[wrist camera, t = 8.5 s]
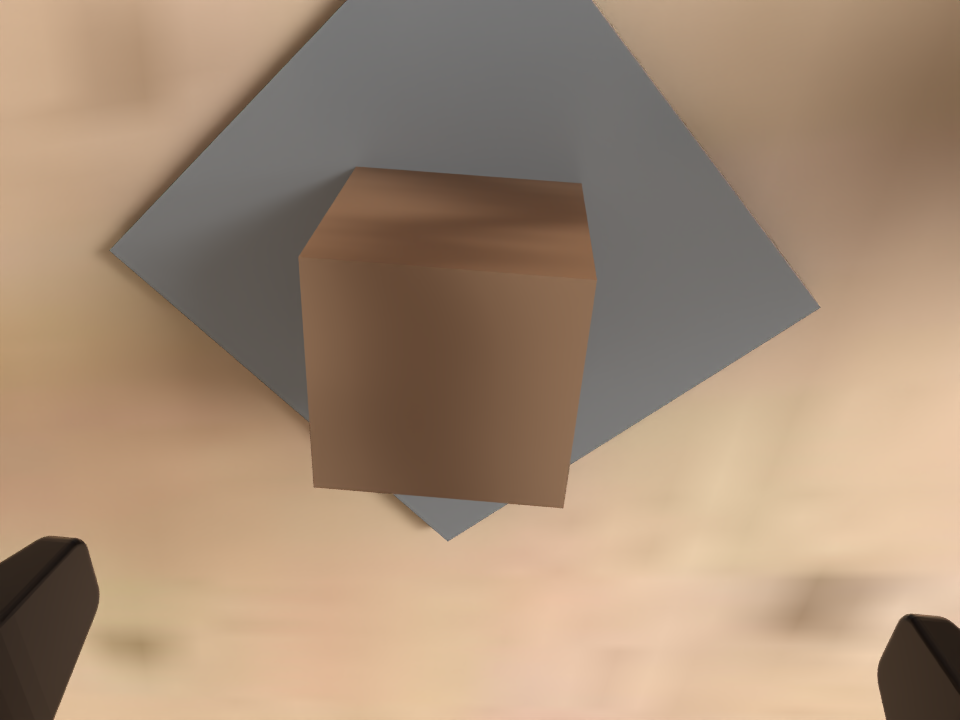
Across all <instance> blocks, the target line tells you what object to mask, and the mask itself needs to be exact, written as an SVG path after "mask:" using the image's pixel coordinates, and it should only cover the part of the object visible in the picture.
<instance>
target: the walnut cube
mask: <svg viewBox="0 0 960 720" xmlns="http://www.w3.org/2000/svg"><path fill="white" fill-rule="evenodd" d="M298 259H299V274H300V289H301V304H302V319H303V334H304V349H305V364H306V379H307V394H308V409H309V424H310V439H311V453H312V468H313V483H314V487H316V488H328V489H340V490H352V491H364V492H376V493H388V494H400V495H412V496H424V497H436V498H448V499H460V500H472V501H484V502H496V503H507V504H519V505H531V506H543V507H555V508H563V507H564V500H565V493H566V486H567V480H568V473H569V466H570V459H571V453H572V446H573V439H574V432H575V426H576V419H577V412H578V405H579V398H580V392H581V385H582V378H583V371H584V365H585V358H586V351H587V344H588V337H589V331H590V324H591V317H592V310H593V304H594V297H595V290H596V283H597V277H596V271H595V264H594V258H593V252H592V246H591V239H590V233H589V227H588V220H587V214H586V208H585V202H584V195H583V189H582V183H570V182H557V181H544V180H530V179H517V178H504V177H490V176H477V175H464V174H450V173H437V172H423V171H410V170H397V169H383V168H370V167H357V166H356V168H355V169H354V171H353V172H352V174H351V175H350V177H349V179H348V180H347V182H346V183H345V185H344V186H343V188H342V189H341V191H340V193H339V194H338V196H337V197H336V199H335V200H334V202H333V204H332V205H331V207H330V208H329V210H328V211H327V213H326V214H325V216H324V218H323V219H322V221H321V222H320V224H319V225H318V227H317V229H316V230H315V232H314V233H313V235H312V236H311V238H310V239H309V241H308V243H307V244H306V246H305V247H304V249H303V250H302V252H301V254H300V255H299V257H298Z"/></svg>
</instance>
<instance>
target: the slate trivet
mask: <svg viewBox="0 0 960 720" xmlns="http://www.w3.org/2000/svg"><path fill="white" fill-rule="evenodd" d="M356 166H357V167H370V168H383V169H397V170H410V171H423V172H437V173H450V174H464V175H477V176H490V177H504V178H517V179H530V180H544V181H557V182H570V183H582V189H583V195H584V202H585V208H586V214H587V220H588V227H589V233H590V239H591V246H592V252H593V258H594V264H595V271H596V277H597V283H596V290H595V297H594V304H593V310H592V317H591V324H590V331H589V337H588V344H587V351H586V358H585V365H584V371H583V378H582V385H581V392H580V398H579V405H578V412H577V419H576V426H575V432H574V439H573V446H572V453H571V459H570V464H572V463H574V462H575V461H577V460H578V459H580V458H582V457H583V456H585V455H586V454H588V453H589V452H591V451H593V450H594V449H596V448H597V447H599V446H601V445H602V444H604V443H605V442H607V441H609V440H610V439H612V438H613V437H615V436H617V435H618V434H620V433H621V432H623V431H625V430H626V429H628V428H629V427H631V426H633V425H634V424H636V423H637V422H639V421H640V420H642V419H644V418H645V417H647V416H648V415H650V414H652V413H653V412H655V411H656V410H658V409H660V408H661V407H663V406H664V405H666V404H668V403H669V402H671V401H672V400H674V399H676V398H677V397H679V396H680V395H682V394H684V393H685V392H687V391H688V390H690V389H691V388H693V387H695V386H696V385H698V384H699V383H701V382H703V381H704V380H706V379H707V378H709V377H711V376H712V375H714V374H715V373H717V372H719V371H720V370H722V369H723V368H725V367H727V366H728V365H730V364H731V363H733V362H735V361H736V360H738V359H739V358H741V357H743V356H744V355H746V354H747V353H749V352H750V351H752V350H754V349H755V348H757V347H758V346H760V345H762V344H763V343H765V342H766V341H768V340H770V339H771V338H773V337H774V336H776V335H778V334H779V333H781V332H782V331H784V330H786V329H787V328H789V327H790V326H792V325H794V324H795V323H797V322H798V321H800V320H801V319H803V318H805V317H806V316H808V315H809V314H811V313H813V312H814V311H816V310H817V309H819V308H821V307H820V306H819V305H818V303H817V302H816V300H815V299H814V297H813V296H812V294H811V293H810V291H809V290H808V289H807V287H806V286H805V285H804V283H803V282H802V281H801V279H800V278H799V277H798V275H797V274H796V273H795V271H794V270H793V269H792V267H791V266H790V265H789V263H788V262H787V261H786V259H785V258H784V256H783V255H782V254H781V252H780V251H779V250H778V248H777V247H776V246H775V244H774V243H773V242H772V240H771V239H770V238H769V236H768V235H767V234H766V232H765V231H764V230H763V228H762V227H761V226H760V224H759V223H758V222H757V220H756V219H755V218H754V216H753V215H752V213H751V212H750V211H749V209H748V208H747V207H746V205H745V204H744V203H743V201H742V200H741V199H740V197H739V196H738V195H737V193H736V192H735V191H734V189H733V188H732V187H731V185H730V184H729V183H728V181H727V180H726V179H725V177H724V176H723V175H722V173H721V172H720V170H719V169H718V168H717V166H716V165H715V164H714V162H713V161H712V160H711V158H710V157H709V156H708V154H707V153H706V152H705V150H704V149H703V148H702V146H701V145H700V144H699V142H698V141H697V140H696V138H695V137H694V136H693V134H692V133H691V132H690V130H689V129H688V127H687V126H686V125H685V123H684V122H683V121H682V119H681V118H680V117H679V115H678V114H677V113H676V111H675V110H674V109H673V107H672V106H671V105H670V103H669V102H668V101H667V99H666V98H665V97H664V95H663V94H662V93H661V91H660V90H659V89H658V87H657V86H656V84H655V83H654V82H653V80H652V79H651V78H650V76H649V75H648V74H647V72H646V71H645V70H644V68H643V67H642V66H641V64H640V63H639V62H638V60H637V59H636V58H635V56H634V55H633V54H632V52H631V51H630V50H629V48H628V47H627V46H626V44H625V43H624V41H623V40H622V39H621V37H620V36H619V35H618V33H617V32H616V31H615V29H614V28H613V27H612V25H611V24H610V23H609V21H608V20H607V19H606V17H605V16H604V15H603V13H602V12H601V11H600V9H599V8H598V7H597V5H596V4H595V3H594V1H593V0H347V1H346V2H345V3H344V4H343V5H342V6H341V7H340V8H339V9H338V10H337V11H336V12H335V13H334V14H333V15H332V16H331V17H330V19H329V20H328V21H327V22H326V23H325V24H324V25H323V26H322V27H321V28H320V29H319V30H318V31H317V32H316V33H315V34H314V35H313V36H312V37H311V39H310V40H309V41H308V42H307V43H306V44H305V45H304V46H303V47H302V48H301V49H300V50H299V51H298V52H297V53H296V54H295V55H294V56H293V58H292V59H291V60H290V61H289V62H288V63H287V64H286V65H285V66H284V67H283V68H282V69H281V70H280V71H279V72H278V73H277V74H276V75H275V76H274V78H273V79H272V80H271V81H270V82H269V83H268V84H267V85H266V86H265V87H264V88H263V89H262V90H261V91H260V92H259V93H258V94H257V95H256V96H255V98H254V99H253V100H252V101H251V102H250V103H249V104H248V105H247V106H246V107H245V108H244V109H243V110H242V111H241V112H240V113H239V114H238V115H237V116H236V118H235V119H234V120H233V121H232V122H231V123H230V124H229V125H228V126H227V127H226V128H225V129H224V130H223V131H222V132H221V133H220V134H219V135H218V137H217V138H216V139H215V140H214V141H213V142H212V143H211V144H210V145H209V146H208V147H207V148H206V149H205V150H204V151H203V152H202V153H201V154H200V155H199V157H198V158H197V159H196V160H195V161H194V162H193V163H192V164H191V165H190V166H189V167H188V168H187V169H186V170H185V171H184V172H183V173H182V174H181V175H180V177H179V178H178V179H177V180H176V181H175V182H174V183H173V184H172V185H171V186H170V187H169V188H168V189H167V190H166V191H165V192H164V193H163V194H162V195H161V197H160V198H159V199H158V200H157V201H156V202H155V203H154V204H153V205H152V206H151V207H150V208H149V209H148V210H147V211H146V212H145V213H144V214H143V216H142V217H141V218H140V219H139V220H138V221H137V222H136V223H135V224H134V225H133V226H132V227H131V228H130V229H129V230H128V231H127V232H126V233H125V234H124V236H123V237H122V238H121V239H120V240H119V241H118V242H117V243H116V244H115V245H114V246H113V247H112V248H111V249H110V250H109V251H110V252H112V253H113V254H114V255H115V256H116V257H117V258H119V259H120V260H121V261H122V262H123V263H124V264H126V265H127V266H128V267H129V268H130V269H131V270H133V271H134V272H135V273H136V274H137V275H138V276H140V277H141V278H142V279H143V280H144V281H145V282H147V283H148V284H149V285H150V286H151V287H152V288H154V289H155V290H156V291H157V292H158V293H159V294H161V295H162V296H163V297H164V298H165V299H166V300H167V301H169V302H170V303H171V304H172V305H173V306H174V307H176V308H177V309H178V310H179V311H180V312H181V313H183V314H184V315H185V316H186V317H187V318H188V319H190V320H191V321H192V322H193V323H194V324H195V325H197V326H198V327H199V328H200V329H201V330H202V331H204V332H205V333H206V334H207V335H208V336H209V337H211V338H212V339H213V340H214V341H215V342H216V343H218V344H219V345H220V346H221V347H222V348H223V349H225V350H226V351H227V352H228V353H229V354H230V355H232V356H233V357H234V358H235V359H236V360H237V361H238V362H240V363H241V364H242V365H243V366H244V367H245V368H247V369H248V370H249V371H250V372H251V373H252V374H254V375H255V376H256V377H257V378H258V379H259V380H261V381H262V382H263V383H264V384H265V385H266V386H268V387H269V388H270V389H271V390H272V391H273V392H275V393H276V394H277V395H278V396H279V397H280V398H282V399H283V400H284V401H285V402H286V403H287V404H289V405H290V406H291V407H292V408H293V409H294V410H296V411H297V412H298V413H299V414H300V415H301V416H303V417H304V418H305V419H306V420H307V421H308V422H309V409H308V394H307V379H306V364H305V349H304V334H303V319H302V304H301V289H300V274H299V259H298V257H299V255H300V254H301V252H302V250H303V249H304V247H305V246H306V244H307V243H308V241H309V239H310V238H311V236H312V235H313V233H314V232H315V230H316V229H317V227H318V225H319V224H320V222H321V221H322V219H323V218H324V216H325V214H326V213H327V211H328V210H329V208H330V207H331V205H332V204H333V202H334V200H335V199H336V197H337V196H338V194H339V193H340V191H341V189H342V188H343V186H344V185H345V183H346V182H347V180H348V179H349V177H350V175H351V174H352V172H353V171H354V169H355V168H356ZM393 495H394V496H396V497H397V498H398V499H399V500H400V501H401V502H403V503H404V504H405V505H406V506H407V507H408V508H410V509H411V510H412V511H413V512H414V513H415V514H417V515H418V516H419V517H420V518H421V519H422V520H424V521H425V522H426V523H427V524H428V525H429V526H431V527H432V528H433V529H434V530H435V531H436V532H438V533H439V534H440V535H441V536H442V537H443V538H444V539H446V540H447V541H449V540H451V539H452V538H454V537H456V536H457V535H459V534H460V533H462V532H464V531H465V530H467V529H468V528H470V527H472V526H473V525H475V524H476V523H478V522H479V521H481V520H483V519H484V518H486V517H487V516H489V515H491V514H492V513H494V512H495V511H497V510H499V509H500V508H502V507H503V506H505V505H507V503H496V502H484V501H472V500H460V499H448V498H436V497H424V496H412V495H400V494H393Z"/></svg>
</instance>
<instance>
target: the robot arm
mask: <svg viewBox="0 0 960 720" xmlns="http://www.w3.org/2000/svg"><path fill="white" fill-rule="evenodd" d="M98 604H99V587H98V583H97V580H96V576H95V573H94V569H93V565H92V562H91V558H90V555H89V551H88V548H87V546H86V544H85V543H84V542H83V541H82V540H81V539H78V538H69V537H58V536H46V537H43V538H40V539H38V540H36V541H35V542H33V543H31V544H30V545H28V546H27V547H25V548H23V549H22V550H20V551H18V552H17V553H15V554H14V555H12V556H10V557H9V558H7V559H6V560H4V561H2V562H1V563H0V720H54V717H55V715H56V712H57V710H58V707H59V705H60V702H61V700H62V697H63V695H64V692H65V690H66V687H67V685H68V682H69V679H70V677H71V674H72V672H73V669H74V667H75V664H76V662H77V659H78V657H79V654H80V652H81V649H82V647H83V644H84V642H85V639H86V637H87V634H88V632H89V629H90V627H91V624H92V622H93V619H94V617H95V614H96V611H97V608H98ZM877 677H878V685H879V690H880V694H881V699H882V703H883V708H884V712H885V717H886V720H960V628H958V627H957V626H956V625H955V624H954V623H952V622H951V621H950V620H948V619H946V618H943V617H940V616H931V615H920V614H906V615H905V616H903V617H902V618H901V619H900V620H899V622H898V624H897V626H896V628H895V630H894V632H893V634H892V636H891V638H890V640H889V642H888V644H887V646H886V648H885V650H884V652H883V655H882V657H881V659H880V661H879V665H878V673H877Z"/></svg>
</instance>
